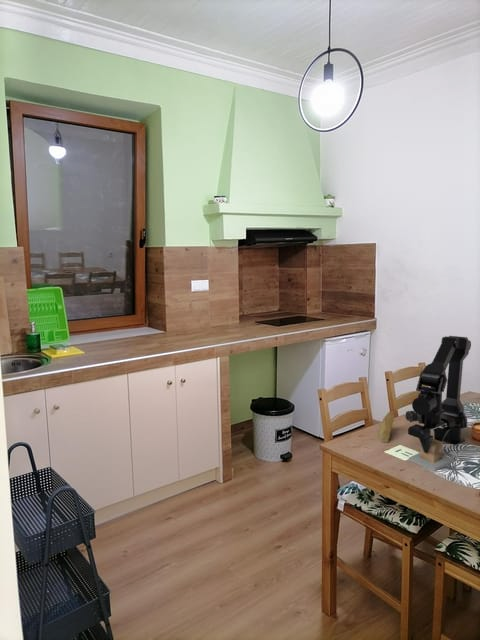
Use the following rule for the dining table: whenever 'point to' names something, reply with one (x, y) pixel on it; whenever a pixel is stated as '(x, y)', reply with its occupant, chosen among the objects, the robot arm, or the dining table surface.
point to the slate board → (430, 465)
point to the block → (433, 451)
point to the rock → (386, 427)
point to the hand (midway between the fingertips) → (431, 450)
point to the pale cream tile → (401, 452)
